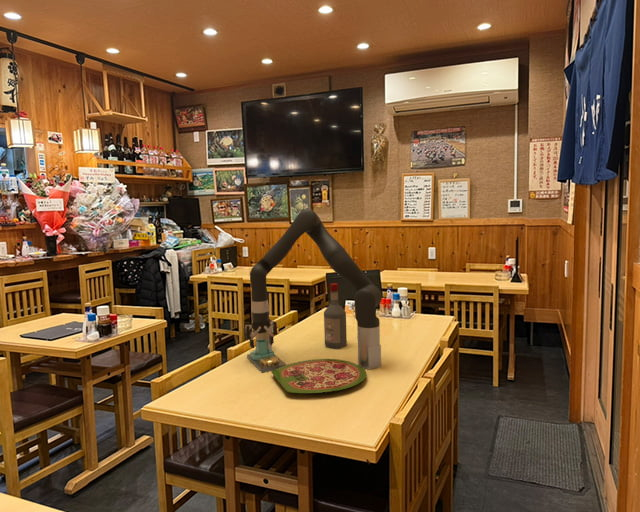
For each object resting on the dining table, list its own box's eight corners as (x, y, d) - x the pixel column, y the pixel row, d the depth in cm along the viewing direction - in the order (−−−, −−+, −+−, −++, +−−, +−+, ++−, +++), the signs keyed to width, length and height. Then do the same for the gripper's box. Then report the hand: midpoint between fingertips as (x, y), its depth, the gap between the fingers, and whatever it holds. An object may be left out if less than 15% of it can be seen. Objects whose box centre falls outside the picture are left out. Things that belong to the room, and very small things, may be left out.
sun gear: (282, 364, 199) (282, 360, 199) (263, 367, 195) (263, 364, 195) (275, 358, 207) (275, 355, 206) (257, 361, 203) (257, 358, 203)
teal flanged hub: (276, 357, 208) (276, 342, 207) (254, 361, 203) (254, 345, 203) (269, 351, 217) (268, 336, 216) (248, 354, 213) (247, 339, 212)
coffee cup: (251, 351, 221) (249, 320, 219) (262, 346, 229) (260, 316, 227) (267, 354, 217) (265, 322, 215) (278, 348, 225) (276, 317, 223)
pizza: (267, 372, 195) (266, 366, 195) (344, 359, 207) (344, 354, 207) (292, 405, 163) (292, 398, 162) (382, 388, 175) (382, 382, 175)
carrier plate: (286, 368, 199) (286, 353, 198) (261, 372, 194) (260, 357, 193) (270, 353, 217) (269, 340, 217) (247, 357, 213) (246, 343, 212)
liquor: (338, 349, 220) (336, 286, 217) (322, 346, 226) (320, 284, 222) (349, 344, 227) (347, 283, 224) (333, 341, 233) (331, 281, 229)
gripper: (246, 314, 201) (248, 351, 203) (278, 309, 207) (280, 345, 209) (242, 310, 208) (243, 346, 210) (272, 306, 214) (274, 341, 216)
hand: (261, 346), depth 209 cm, fingers open, 8 cm apart
